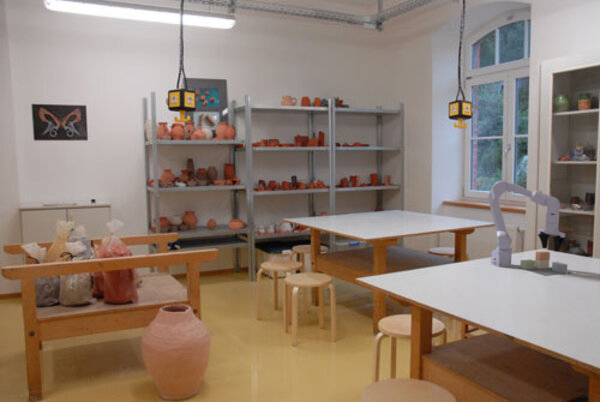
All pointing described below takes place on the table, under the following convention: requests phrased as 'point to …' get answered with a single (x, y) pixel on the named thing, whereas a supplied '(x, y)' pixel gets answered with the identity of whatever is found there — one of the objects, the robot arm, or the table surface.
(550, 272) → the mat
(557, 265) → the bluegrey brick
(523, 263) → the sage brick
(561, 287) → the table surface
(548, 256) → the terracotta brick
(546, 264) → the cream brick
